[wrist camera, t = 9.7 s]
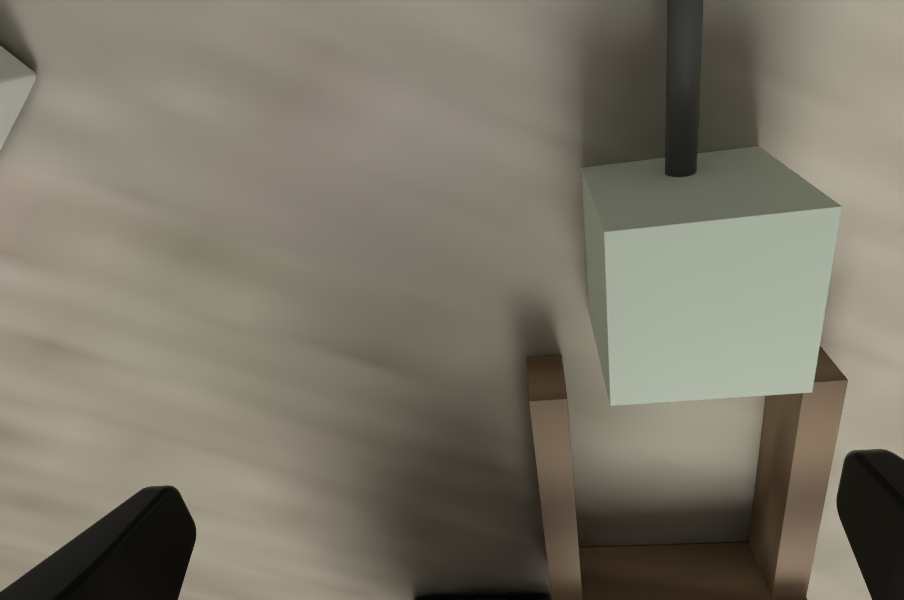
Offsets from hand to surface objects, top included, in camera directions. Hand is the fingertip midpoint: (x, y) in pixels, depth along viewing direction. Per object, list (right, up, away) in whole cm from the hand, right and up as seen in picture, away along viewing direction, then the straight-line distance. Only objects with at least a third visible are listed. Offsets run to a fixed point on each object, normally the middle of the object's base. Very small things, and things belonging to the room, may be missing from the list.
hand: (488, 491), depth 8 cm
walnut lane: (+8, -4, +15) cm, 17 cm away
